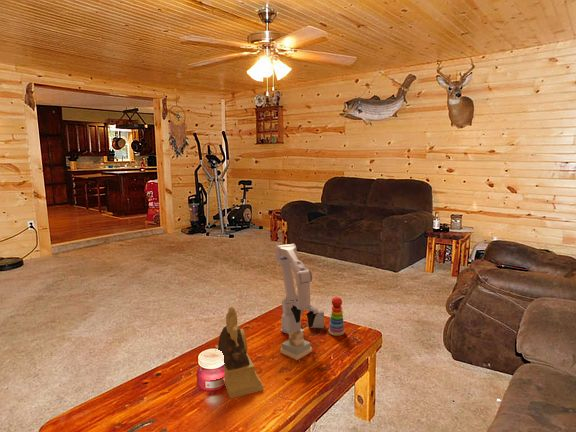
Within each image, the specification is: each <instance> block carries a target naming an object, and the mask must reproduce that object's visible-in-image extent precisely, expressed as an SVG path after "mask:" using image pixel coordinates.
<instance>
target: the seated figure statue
mask: <svg viewBox="0 0 576 432" xmlns="http://www.w3.org/2000/svg"><path fill="white" fill-rule="evenodd" d="M225 324H226V325H225V326H224V327H223V328H222V330H221V332H220V334H219V339H218V344H216V345H215V350H216V349H218V350H220V351H222V353H223V355H224V363H225V364H224V371H225V385H224V387H225V386H226V387H225V388H226V389H227V390H226V389H225V390H226V391H227V395H228V396H229V399H233V398H234V399H235V398H237V397H242V396H247V395H248V394H249V395H250V394H253V393H258V392H261V391H264V384H263V382H262V381H261V378H260V377H259V375H258V374H257V372H256V370H255V369H256V367H255V365H254V363H253V361H252V359H251V358H250V356H249V355H248V342H247V337H246V333H245V330H244V329H243V328H240V327H239V326H238V315H237V311H236V309H235V307H234V306H229V307H228V312H227V313H226V315H225Z"/></svg>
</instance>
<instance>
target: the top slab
mask: <svg viewBox="0 0 576 432" xmlns="http://www.w3.org/2000/svg"><path fill="white" fill-rule="evenodd" d="M310 347H311V342H310V341H307V340H306V339H304V343H302V344H300V345H298V346H295V345H293V344H290V343H289V339H288V340H285V341H284V342H282V343H281V348H282V349H284V350H286V351H288V352H291V353H293V354H295V355H299V354H300V353H302V352H304V351H305V350H307V349H309V348H310Z"/></svg>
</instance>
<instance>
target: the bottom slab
mask: <svg viewBox="0 0 576 432" xmlns="http://www.w3.org/2000/svg"><path fill="white" fill-rule="evenodd" d="M312 352H313V347H312V346H310V348H309V349H307V350H305V351H304V352H302V353H300V354H299V355H295V354H293V353H291V352H288V351H286V350H284V349H282V347H281V348H280V354H283V355H285V356H288V357H289V358H292V359H294V360H296V361H298V360H300V359H301V358H303V357H304V356H307V355H308V354H310V353H312Z"/></svg>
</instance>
